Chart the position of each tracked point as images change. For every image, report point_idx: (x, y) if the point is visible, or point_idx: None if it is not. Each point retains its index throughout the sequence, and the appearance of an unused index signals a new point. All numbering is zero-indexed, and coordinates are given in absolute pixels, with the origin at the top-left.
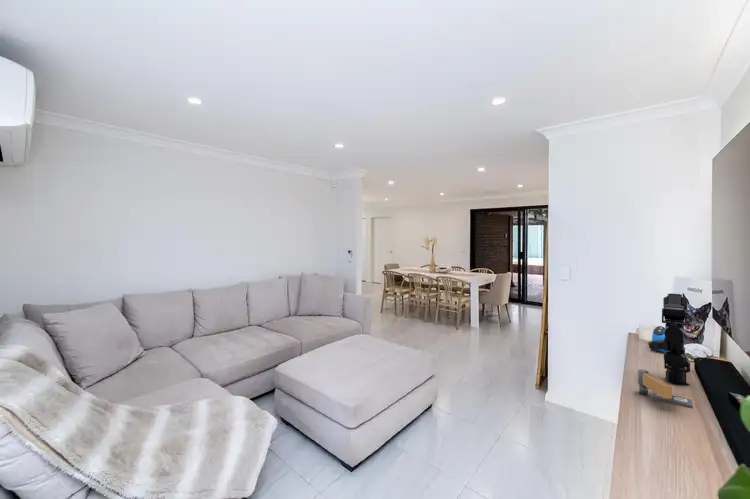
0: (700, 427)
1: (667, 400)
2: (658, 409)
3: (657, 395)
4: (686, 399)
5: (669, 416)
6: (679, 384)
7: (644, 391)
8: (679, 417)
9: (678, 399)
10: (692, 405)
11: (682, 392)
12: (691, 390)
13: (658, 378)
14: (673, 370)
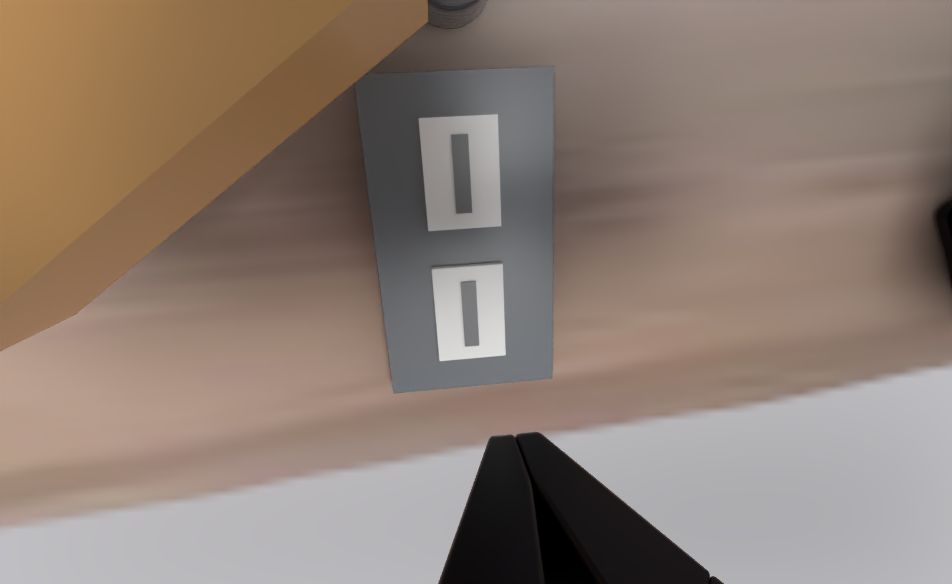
0: (12, 451)
1: (373, 218)
2: None
3: (418, 124)
4: (504, 350)
5: None
6: (947, 256)
7: None
8: (72, 326)
9: (449, 300)
10: (403, 391)
11: (747, 291)
12: (839, 340)
13: (161, 156)
14: (476, 489)
